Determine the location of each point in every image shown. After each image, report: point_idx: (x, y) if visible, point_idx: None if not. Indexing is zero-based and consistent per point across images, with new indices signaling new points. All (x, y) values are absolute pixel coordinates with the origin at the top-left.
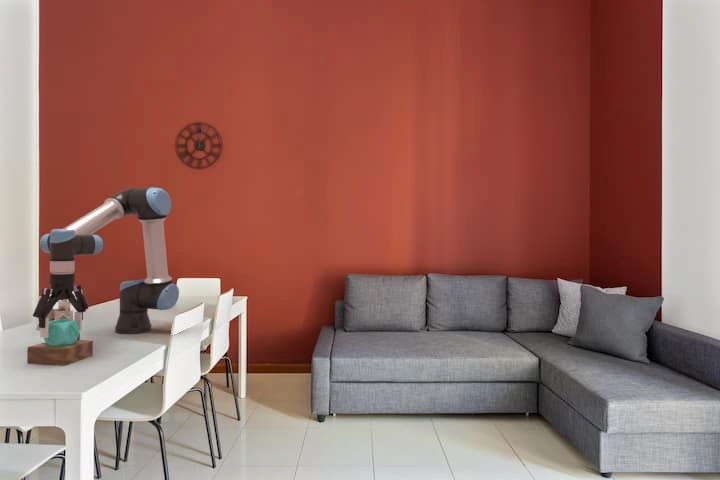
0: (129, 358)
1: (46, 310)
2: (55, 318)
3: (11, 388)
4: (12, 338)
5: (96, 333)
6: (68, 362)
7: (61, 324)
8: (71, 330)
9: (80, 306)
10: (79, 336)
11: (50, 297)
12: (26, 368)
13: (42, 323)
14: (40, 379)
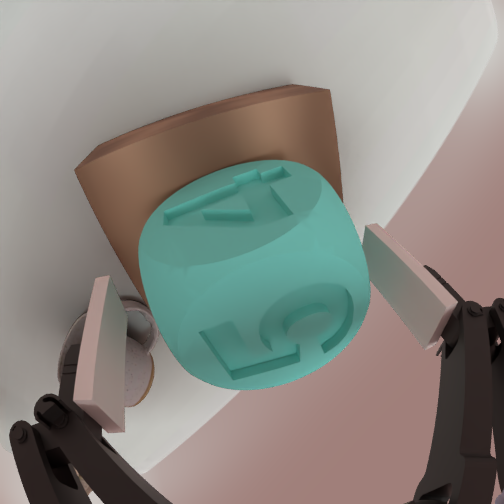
0: None
1: (487, 356)
2: (77, 473)
3: (486, 49)
4: (162, 450)
5: (5, 402)
6: (269, 90)
7: (352, 246)
8: (241, 207)
9: (87, 463)
10: (59, 365)
11: (445, 502)
12: (368, 180)
13: (444, 285)
14: (434, 29)
